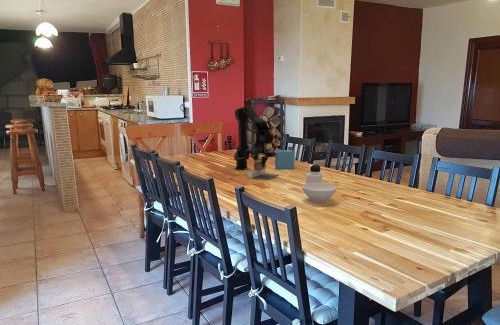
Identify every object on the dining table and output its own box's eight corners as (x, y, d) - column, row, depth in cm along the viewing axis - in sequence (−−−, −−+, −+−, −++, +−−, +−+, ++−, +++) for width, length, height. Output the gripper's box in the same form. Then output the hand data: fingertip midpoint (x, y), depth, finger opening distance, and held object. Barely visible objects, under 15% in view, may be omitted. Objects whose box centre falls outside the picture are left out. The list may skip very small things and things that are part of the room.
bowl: (315, 207, 171) (315, 192, 169) (295, 198, 185) (295, 184, 183) (343, 203, 178) (343, 188, 177) (321, 194, 192) (322, 181, 191)
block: (254, 169, 231) (254, 159, 230) (260, 167, 237) (260, 158, 235) (259, 170, 229) (259, 160, 227) (265, 168, 234) (265, 158, 233)
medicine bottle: (322, 185, 210) (322, 164, 207) (318, 188, 203) (319, 166, 201) (309, 184, 213) (310, 163, 210) (305, 187, 206) (306, 165, 204)
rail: (247, 177, 229) (247, 172, 228) (261, 172, 242) (261, 168, 241) (251, 178, 227) (251, 173, 227) (265, 173, 240) (265, 168, 240)
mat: (252, 177, 228) (252, 177, 228) (264, 173, 240) (264, 173, 240) (267, 180, 223) (267, 179, 223) (278, 175, 234) (278, 175, 234)
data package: (291, 167, 259) (292, 150, 257) (294, 168, 255) (294, 151, 253) (275, 168, 256) (275, 150, 253) (277, 169, 251) (277, 151, 249)
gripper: (239, 141, 228) (239, 167, 231) (266, 144, 218) (266, 171, 221) (249, 139, 237) (249, 164, 240) (276, 142, 227) (275, 168, 230)
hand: (259, 167), depth 232 cm, fingers closed on block, 4 cm apart
